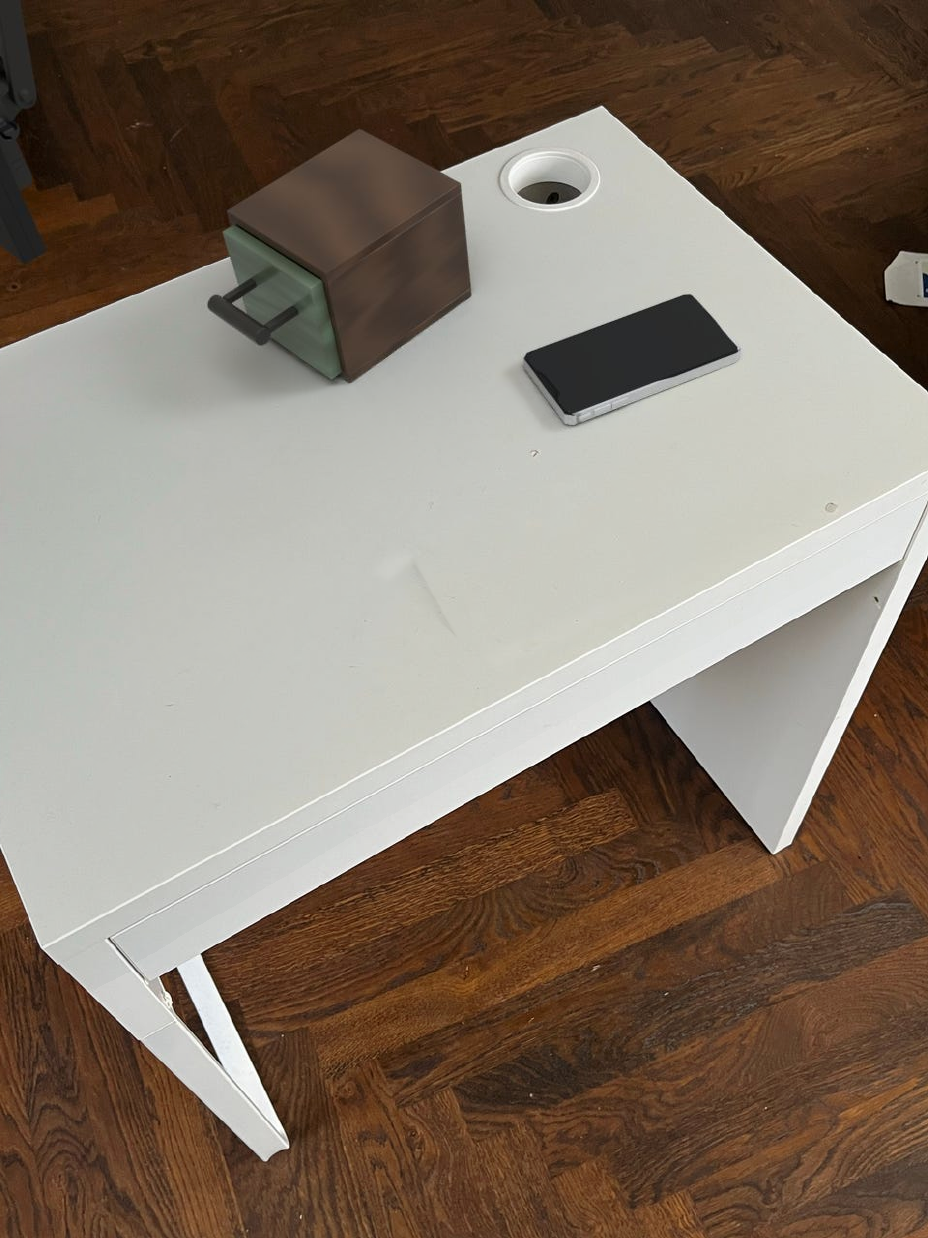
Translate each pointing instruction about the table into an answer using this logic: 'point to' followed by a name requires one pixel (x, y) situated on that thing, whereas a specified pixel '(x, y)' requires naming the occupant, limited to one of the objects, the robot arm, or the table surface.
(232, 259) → the drawer
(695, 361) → the smartphone
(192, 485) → the table surface
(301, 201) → the cabinet
